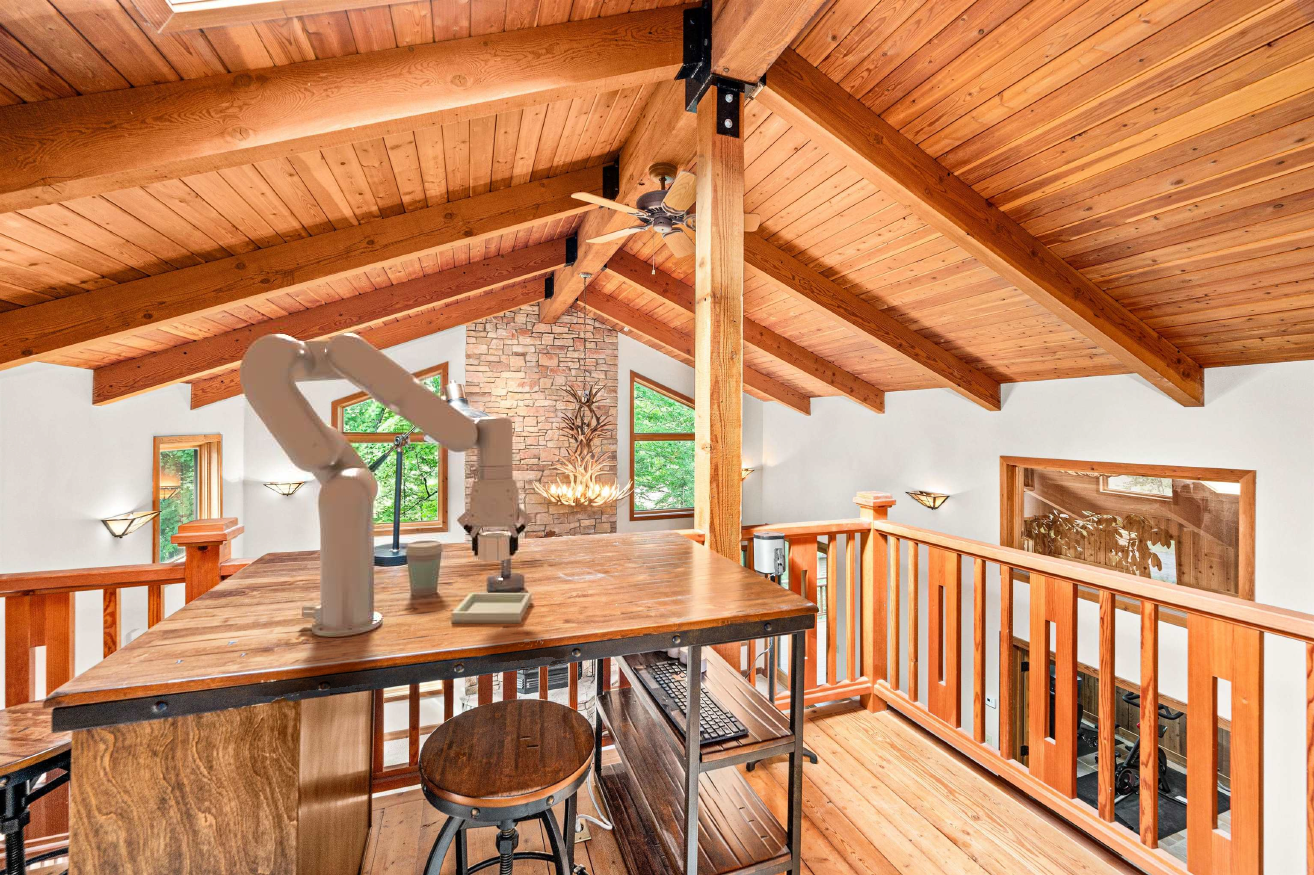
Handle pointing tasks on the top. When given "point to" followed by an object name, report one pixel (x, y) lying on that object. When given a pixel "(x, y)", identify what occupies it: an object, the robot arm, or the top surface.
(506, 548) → the collar
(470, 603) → the tray
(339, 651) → the top surface
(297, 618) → the top surface
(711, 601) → the top surface
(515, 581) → the grey peg stand
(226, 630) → the top surface
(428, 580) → the coffee cup
